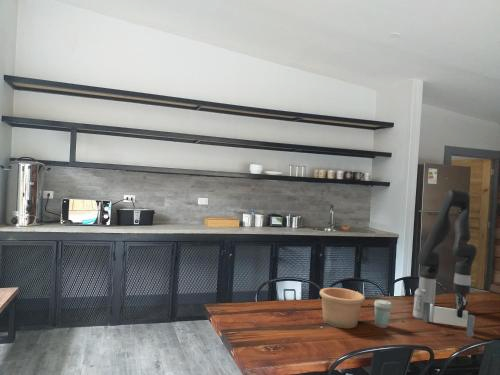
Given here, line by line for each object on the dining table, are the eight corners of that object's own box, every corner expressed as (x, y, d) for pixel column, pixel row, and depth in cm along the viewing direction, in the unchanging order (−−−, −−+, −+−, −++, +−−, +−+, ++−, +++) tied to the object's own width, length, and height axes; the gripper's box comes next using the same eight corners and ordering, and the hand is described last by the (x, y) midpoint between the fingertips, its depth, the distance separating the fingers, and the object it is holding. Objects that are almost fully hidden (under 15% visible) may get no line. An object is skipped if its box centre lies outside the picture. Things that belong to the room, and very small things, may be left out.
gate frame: (422, 321, 200) (423, 302, 200) (424, 320, 202) (425, 302, 202) (471, 337, 182) (473, 316, 182) (473, 336, 184) (475, 316, 184)
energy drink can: (427, 319, 204) (429, 291, 204) (417, 319, 203) (419, 291, 203) (420, 315, 210) (422, 288, 210) (410, 315, 209) (412, 288, 209)
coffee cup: (381, 330, 183) (383, 305, 183) (368, 323, 191) (370, 299, 190) (394, 328, 187) (396, 303, 187) (380, 321, 195) (382, 298, 194)
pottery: (314, 324, 183) (316, 295, 183) (321, 311, 204) (323, 285, 203) (360, 334, 175) (363, 303, 175) (363, 319, 196) (365, 292, 196)
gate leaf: (429, 321, 197) (430, 304, 197) (428, 320, 199) (429, 303, 199) (466, 327, 193) (468, 309, 193) (465, 325, 195) (467, 308, 195)
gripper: (474, 286, 186) (472, 322, 185) (465, 281, 198) (463, 314, 198) (458, 284, 187) (455, 320, 187) (450, 279, 200) (447, 312, 200)
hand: (459, 317), depth 192 cm, fingers closed
